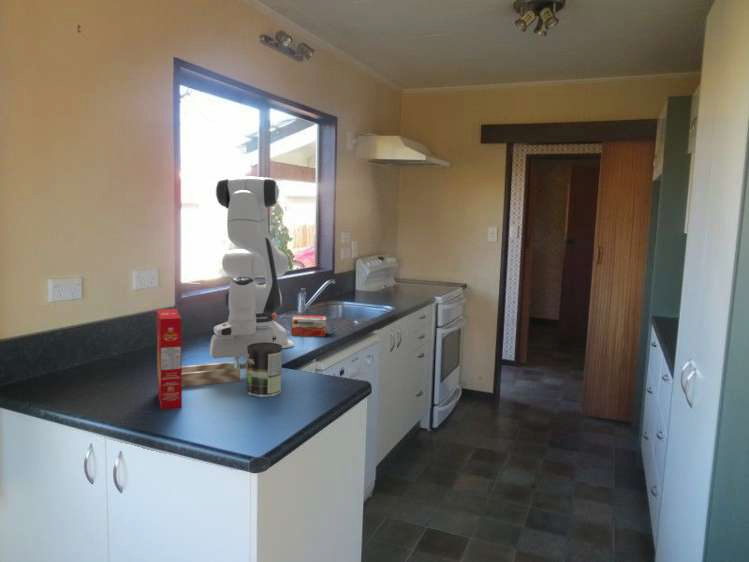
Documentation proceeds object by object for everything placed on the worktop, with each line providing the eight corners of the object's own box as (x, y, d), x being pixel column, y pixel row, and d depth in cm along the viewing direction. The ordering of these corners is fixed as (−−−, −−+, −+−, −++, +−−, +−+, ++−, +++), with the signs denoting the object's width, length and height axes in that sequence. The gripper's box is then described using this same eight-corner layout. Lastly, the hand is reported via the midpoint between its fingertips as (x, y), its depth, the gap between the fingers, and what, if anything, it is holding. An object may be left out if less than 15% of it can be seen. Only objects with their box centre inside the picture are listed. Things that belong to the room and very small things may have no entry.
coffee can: (250, 398, 165) (250, 351, 164) (244, 388, 175) (244, 343, 173) (284, 395, 169) (285, 349, 168) (277, 385, 179) (278, 341, 177)
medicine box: (291, 336, 251) (291, 318, 250) (293, 332, 259) (293, 314, 258) (325, 337, 251) (325, 319, 250) (326, 333, 259) (327, 316, 258)
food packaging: (157, 393, 167) (156, 309, 164) (176, 391, 169) (175, 309, 166) (161, 410, 154) (160, 319, 151) (181, 407, 156) (181, 318, 153)
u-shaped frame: (233, 373, 190) (233, 359, 190) (240, 380, 182) (240, 366, 182) (170, 379, 181) (170, 364, 180) (174, 387, 173) (174, 372, 172)
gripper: (270, 323, 193) (270, 363, 194) (208, 327, 183) (208, 369, 185) (276, 327, 187) (275, 368, 189) (212, 331, 178) (212, 374, 179)
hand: (242, 368), depth 187 cm, fingers closed
